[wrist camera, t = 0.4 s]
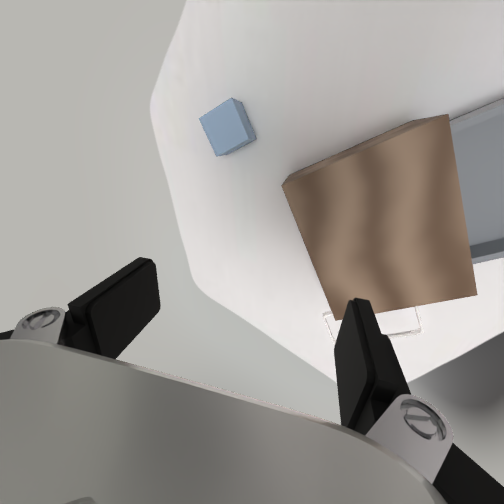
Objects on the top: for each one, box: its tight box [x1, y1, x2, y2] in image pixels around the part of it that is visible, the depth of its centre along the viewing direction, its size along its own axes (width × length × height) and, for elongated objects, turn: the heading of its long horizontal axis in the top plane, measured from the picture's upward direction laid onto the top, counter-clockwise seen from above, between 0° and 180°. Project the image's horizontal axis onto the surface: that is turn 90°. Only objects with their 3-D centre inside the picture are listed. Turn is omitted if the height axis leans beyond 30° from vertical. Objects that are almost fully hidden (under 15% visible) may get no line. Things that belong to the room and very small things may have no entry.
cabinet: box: [282, 114, 477, 321], centre depth 31 cm, size 16×20×9 cm
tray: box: [449, 98, 504, 264], centre depth 26 cm, size 16×20×8 cm
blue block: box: [199, 98, 256, 156], centre depth 32 cm, size 5×5×4 cm
